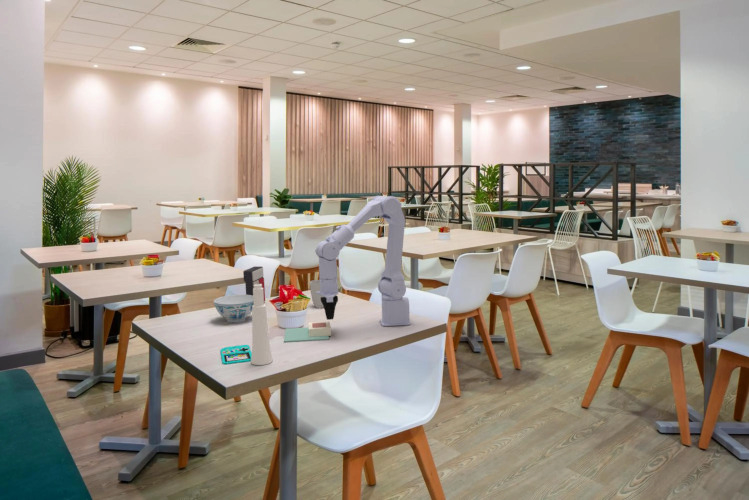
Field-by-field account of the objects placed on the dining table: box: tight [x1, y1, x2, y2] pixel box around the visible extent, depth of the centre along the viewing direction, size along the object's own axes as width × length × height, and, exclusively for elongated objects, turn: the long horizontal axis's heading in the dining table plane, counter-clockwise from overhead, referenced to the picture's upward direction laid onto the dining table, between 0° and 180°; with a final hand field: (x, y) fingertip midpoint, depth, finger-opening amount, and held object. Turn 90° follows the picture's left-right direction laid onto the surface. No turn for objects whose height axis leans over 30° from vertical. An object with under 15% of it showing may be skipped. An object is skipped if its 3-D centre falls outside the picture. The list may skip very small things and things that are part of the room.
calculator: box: [243, 266, 266, 303], centre depth 219 cm, size 11×4×15 cm, turn 168°
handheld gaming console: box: [220, 344, 252, 366], centre depth 158 cm, size 8×1×15 cm
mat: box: [283, 326, 330, 343], centre depth 177 cm, size 14×14×1 cm
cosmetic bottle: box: [250, 284, 274, 366], centre depth 150 cm, size 6×6×22 cm
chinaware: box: [213, 294, 254, 323], centre depth 197 cm, size 15×15×8 cm
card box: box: [308, 320, 332, 337], centre depth 177 cm, size 3×8×7 cm
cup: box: [309, 279, 324, 309], centre depth 214 cm, size 8×8×10 cm
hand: (330, 319), depth 177 cm, fingers closed
